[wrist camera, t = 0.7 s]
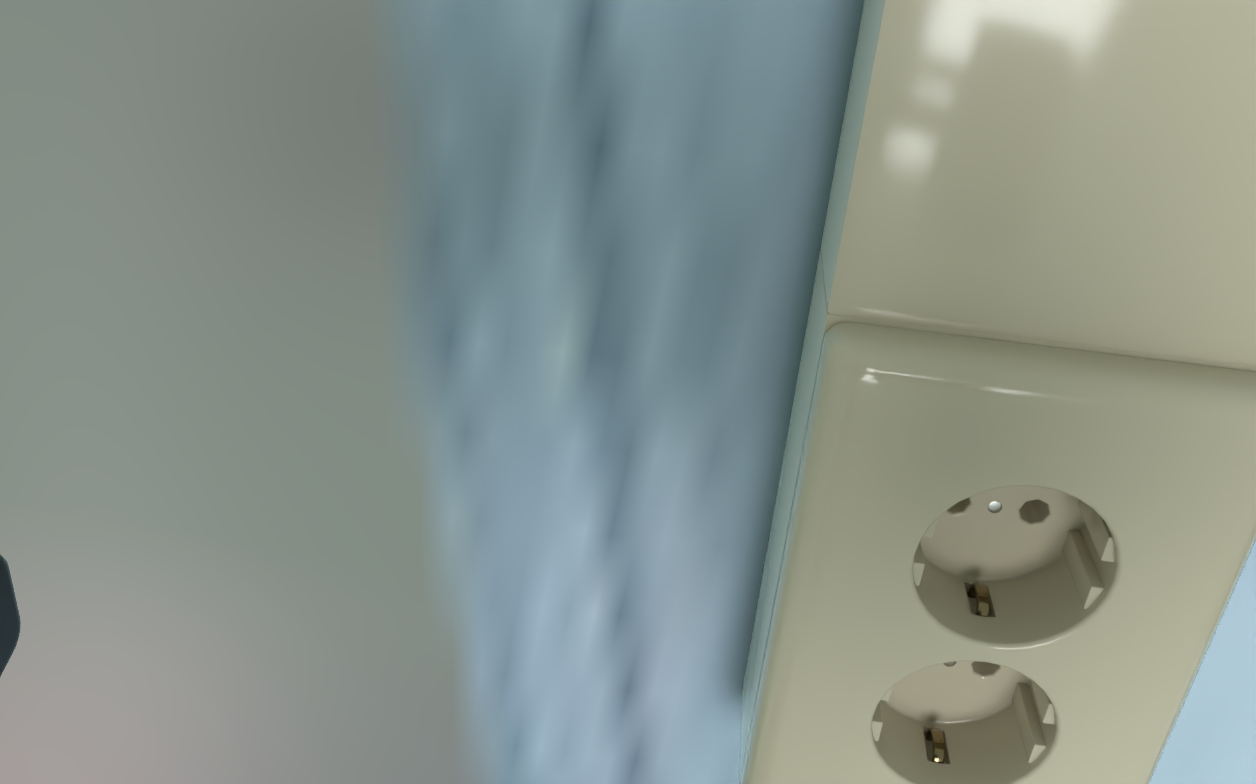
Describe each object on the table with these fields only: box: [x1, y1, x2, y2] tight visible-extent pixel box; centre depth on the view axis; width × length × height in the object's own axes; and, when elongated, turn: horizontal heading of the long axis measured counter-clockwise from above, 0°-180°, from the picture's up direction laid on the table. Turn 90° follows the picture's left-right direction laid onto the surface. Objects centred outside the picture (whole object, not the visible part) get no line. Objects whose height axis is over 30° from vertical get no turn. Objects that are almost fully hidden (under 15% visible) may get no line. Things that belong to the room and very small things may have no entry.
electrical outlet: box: [739, 0, 1256, 784], centre depth 19 cm, size 7×4×18 cm
